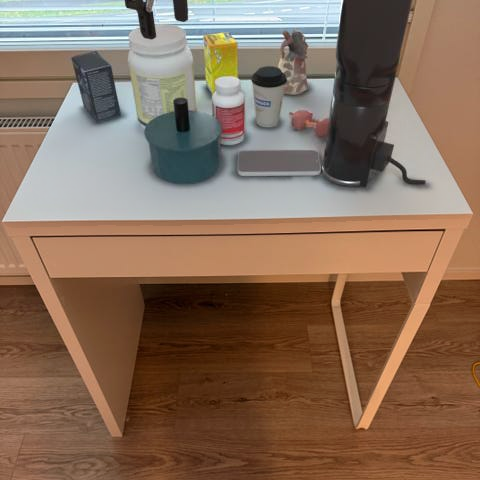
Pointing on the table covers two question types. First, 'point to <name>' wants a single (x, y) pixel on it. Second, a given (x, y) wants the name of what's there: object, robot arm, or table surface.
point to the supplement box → (220, 58)
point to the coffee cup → (268, 95)
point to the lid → (183, 129)
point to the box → (96, 86)
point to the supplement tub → (160, 72)
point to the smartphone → (278, 162)
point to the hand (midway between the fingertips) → (166, 29)
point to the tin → (186, 164)
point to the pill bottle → (229, 109)
